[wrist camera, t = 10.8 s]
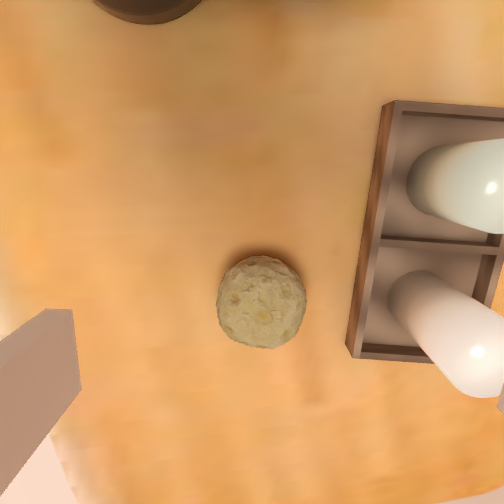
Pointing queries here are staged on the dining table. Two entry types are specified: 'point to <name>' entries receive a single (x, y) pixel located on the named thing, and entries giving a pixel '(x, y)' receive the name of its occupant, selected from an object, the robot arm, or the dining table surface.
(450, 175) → the white egg-shaped capsule
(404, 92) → the dining table surface
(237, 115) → the dining table surface
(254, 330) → the decorative item
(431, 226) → the tray
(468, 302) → the white rounded tapered cylinder
